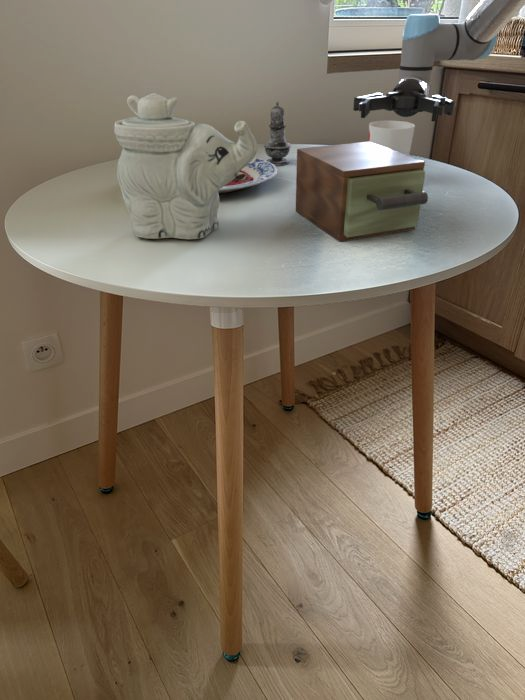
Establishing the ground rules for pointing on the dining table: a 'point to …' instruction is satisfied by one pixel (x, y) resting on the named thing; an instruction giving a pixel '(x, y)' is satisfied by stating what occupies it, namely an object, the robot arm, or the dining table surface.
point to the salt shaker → (277, 138)
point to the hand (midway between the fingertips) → (398, 112)
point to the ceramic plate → (251, 175)
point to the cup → (392, 135)
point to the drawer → (383, 202)
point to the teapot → (175, 169)
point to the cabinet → (341, 180)
